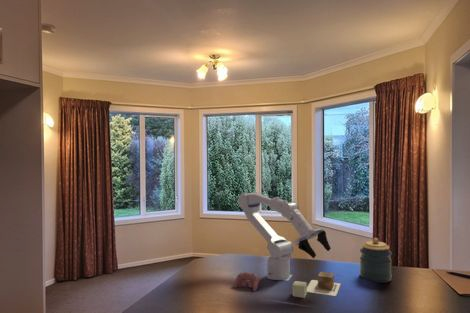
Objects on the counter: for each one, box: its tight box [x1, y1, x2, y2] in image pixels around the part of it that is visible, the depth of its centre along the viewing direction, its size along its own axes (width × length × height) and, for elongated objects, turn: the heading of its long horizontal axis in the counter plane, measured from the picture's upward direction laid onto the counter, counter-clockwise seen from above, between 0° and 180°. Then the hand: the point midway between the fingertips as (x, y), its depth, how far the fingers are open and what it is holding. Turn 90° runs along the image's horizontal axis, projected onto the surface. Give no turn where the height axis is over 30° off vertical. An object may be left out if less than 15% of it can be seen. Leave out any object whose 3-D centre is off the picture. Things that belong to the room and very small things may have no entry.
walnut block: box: [317, 271, 335, 290], centre depth 152 cm, size 6×6×5 cm
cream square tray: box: [307, 279, 341, 297], centre depth 151 cm, size 12×14×1 cm
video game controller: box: [233, 272, 260, 292], centre depth 153 cm, size 10×5×7 cm, turn 65°
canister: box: [359, 237, 393, 284], centre depth 163 cm, size 13×13×18 cm
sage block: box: [292, 280, 308, 299], centre depth 144 cm, size 4×4×5 cm
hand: (322, 253), depth 147 cm, fingers open, 7 cm apart
